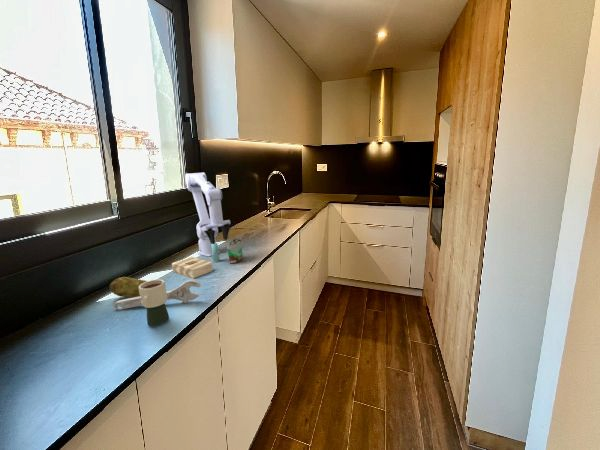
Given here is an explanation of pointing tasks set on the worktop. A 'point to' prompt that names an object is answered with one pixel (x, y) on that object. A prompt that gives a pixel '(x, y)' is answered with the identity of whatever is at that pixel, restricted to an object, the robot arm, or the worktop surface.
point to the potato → (126, 287)
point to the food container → (235, 251)
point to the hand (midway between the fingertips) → (219, 241)
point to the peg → (215, 252)
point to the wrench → (177, 293)
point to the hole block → (192, 267)
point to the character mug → (154, 301)
